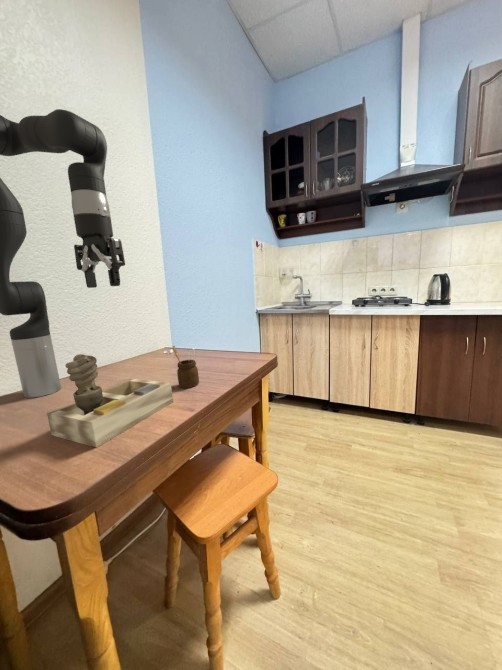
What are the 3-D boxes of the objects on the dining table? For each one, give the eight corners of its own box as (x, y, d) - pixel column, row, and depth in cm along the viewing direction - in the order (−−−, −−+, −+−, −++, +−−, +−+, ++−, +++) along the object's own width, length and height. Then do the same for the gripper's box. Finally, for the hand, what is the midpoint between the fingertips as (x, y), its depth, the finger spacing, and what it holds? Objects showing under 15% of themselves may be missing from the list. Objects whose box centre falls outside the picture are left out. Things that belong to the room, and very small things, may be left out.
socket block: (51, 435, 57) (46, 409, 56) (133, 396, 76) (130, 376, 75) (96, 447, 51) (91, 419, 50) (173, 401, 70) (170, 380, 69)
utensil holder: (197, 387, 79) (192, 346, 77) (175, 389, 79) (170, 348, 77) (201, 380, 85) (197, 342, 82) (180, 382, 85) (176, 343, 83)
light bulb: (93, 429, 56) (80, 357, 54) (71, 428, 58) (56, 358, 55) (112, 416, 62) (101, 350, 59) (91, 415, 63) (79, 351, 60)
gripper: (57, 217, 64) (69, 289, 67) (97, 206, 57) (109, 286, 60) (88, 223, 70) (98, 287, 73) (127, 213, 64) (137, 284, 67)
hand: (103, 286), depth 67 cm, fingers open, 8 cm apart
